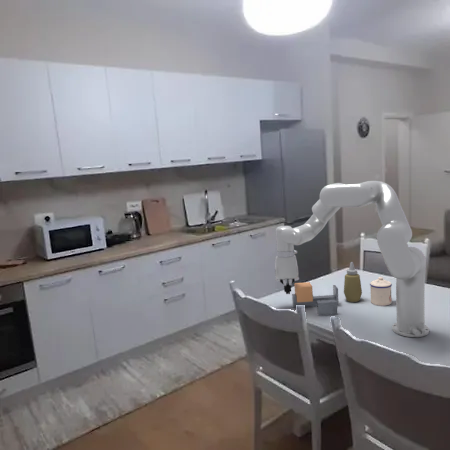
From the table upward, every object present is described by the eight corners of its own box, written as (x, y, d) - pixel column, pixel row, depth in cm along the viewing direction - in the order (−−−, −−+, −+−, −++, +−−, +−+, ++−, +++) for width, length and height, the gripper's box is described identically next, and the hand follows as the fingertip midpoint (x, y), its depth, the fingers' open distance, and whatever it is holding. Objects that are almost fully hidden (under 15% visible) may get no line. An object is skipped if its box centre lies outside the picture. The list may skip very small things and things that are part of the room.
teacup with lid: (395, 305, 180) (394, 279, 178) (373, 306, 180) (372, 281, 179) (386, 296, 191) (386, 272, 190) (366, 297, 192) (365, 273, 190)
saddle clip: (312, 301, 184) (312, 286, 183) (297, 302, 184) (296, 287, 183) (310, 296, 190) (309, 282, 189) (295, 297, 191) (294, 283, 190)
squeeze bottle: (365, 299, 190) (364, 261, 188) (357, 304, 185) (356, 265, 182) (348, 296, 196) (347, 259, 193) (340, 301, 190) (339, 263, 187)
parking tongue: (337, 314, 175) (337, 301, 174) (318, 315, 175) (318, 303, 175) (335, 311, 178) (335, 299, 177) (317, 312, 178) (316, 300, 178)
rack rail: (338, 305, 185) (337, 288, 184) (293, 308, 186) (292, 291, 184) (333, 298, 194) (332, 282, 193) (290, 301, 195) (290, 285, 194)
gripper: (300, 250, 188) (303, 289, 191) (268, 253, 188) (270, 291, 191) (303, 254, 180) (305, 294, 183) (269, 256, 181) (272, 297, 184)
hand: (287, 293), depth 187 cm, fingers closed
